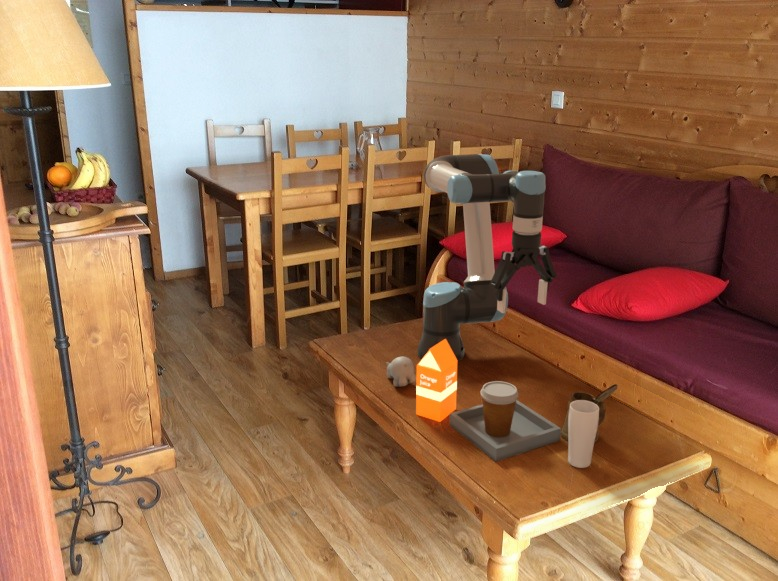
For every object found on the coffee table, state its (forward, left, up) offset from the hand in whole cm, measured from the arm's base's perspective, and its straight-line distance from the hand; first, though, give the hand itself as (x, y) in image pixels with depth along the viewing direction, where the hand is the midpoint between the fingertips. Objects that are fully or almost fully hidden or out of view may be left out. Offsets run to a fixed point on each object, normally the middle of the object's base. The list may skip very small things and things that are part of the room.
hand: (521, 307), depth 190 cm
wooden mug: (+27, +1, -27) cm, 38 cm away
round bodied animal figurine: (-25, -24, -27) cm, 44 cm away
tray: (+14, -15, -27) cm, 34 cm away
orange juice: (-4, -24, -27) cm, 37 cm away
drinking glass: (+34, -8, -27) cm, 44 cm away
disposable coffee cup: (+14, -17, -26) cm, 35 cm away
